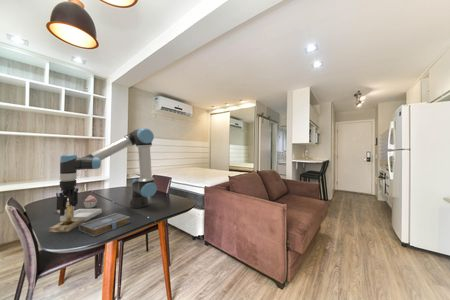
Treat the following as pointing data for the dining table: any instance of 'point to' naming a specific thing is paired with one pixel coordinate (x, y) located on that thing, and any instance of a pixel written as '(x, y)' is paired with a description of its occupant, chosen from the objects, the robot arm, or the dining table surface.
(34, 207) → the dining table surface
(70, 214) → the lock pin
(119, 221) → the book
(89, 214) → the tray
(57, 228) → the block
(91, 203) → the cupcake
